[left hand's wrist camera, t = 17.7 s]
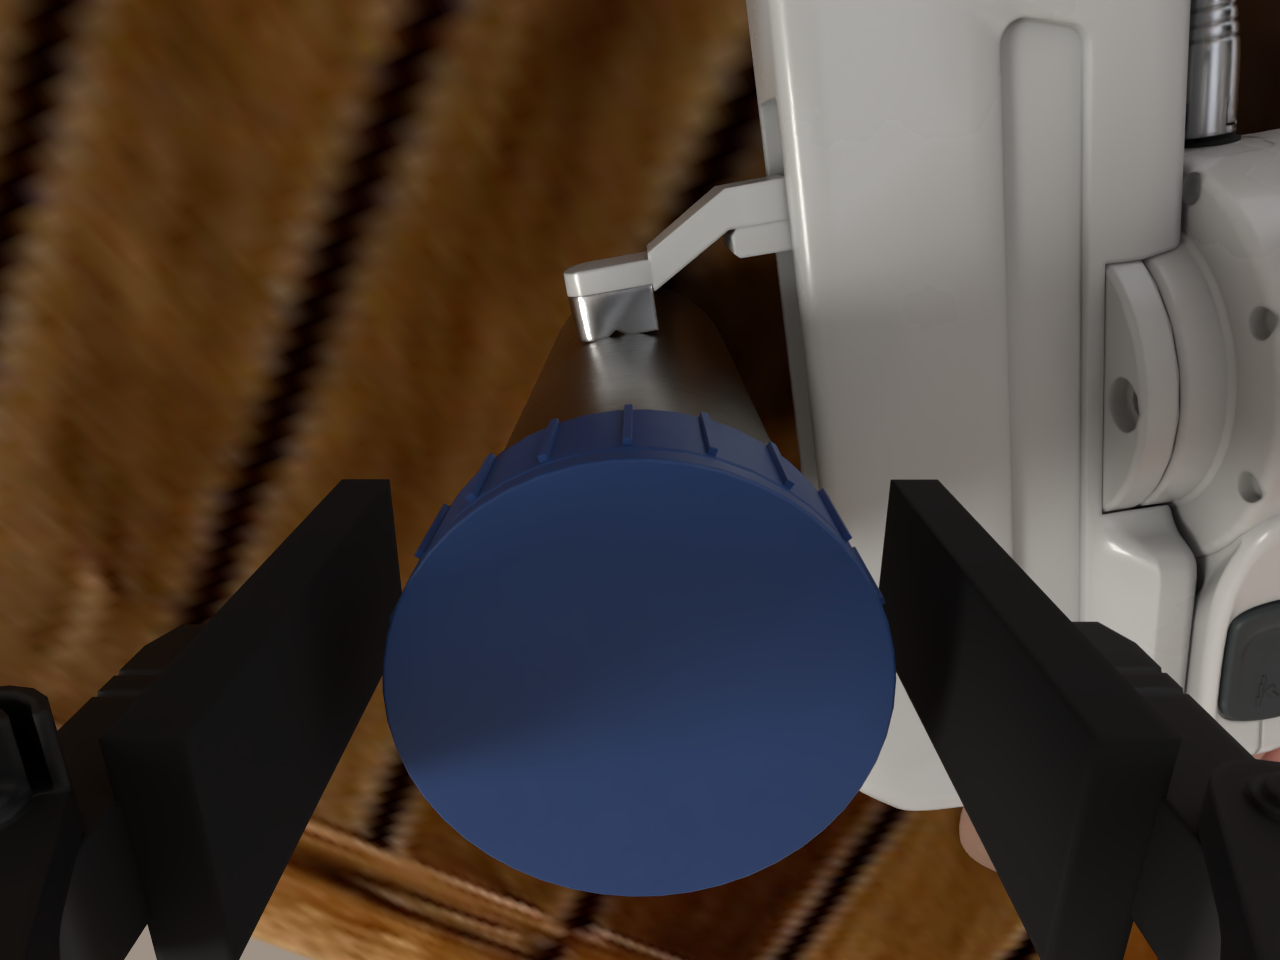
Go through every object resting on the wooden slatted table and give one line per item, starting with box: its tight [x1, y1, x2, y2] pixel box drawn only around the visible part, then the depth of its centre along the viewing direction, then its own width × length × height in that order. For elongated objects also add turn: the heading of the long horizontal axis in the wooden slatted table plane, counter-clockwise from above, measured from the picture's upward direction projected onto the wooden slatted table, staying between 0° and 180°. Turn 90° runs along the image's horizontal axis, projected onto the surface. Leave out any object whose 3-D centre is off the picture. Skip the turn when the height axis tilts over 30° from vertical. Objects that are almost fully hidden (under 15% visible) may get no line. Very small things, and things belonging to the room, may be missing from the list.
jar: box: [505, 287, 770, 450], centre depth 18 cm, size 5×5×16 cm
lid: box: [383, 404, 896, 896], centre depth 11 cm, size 6×6×2 cm
